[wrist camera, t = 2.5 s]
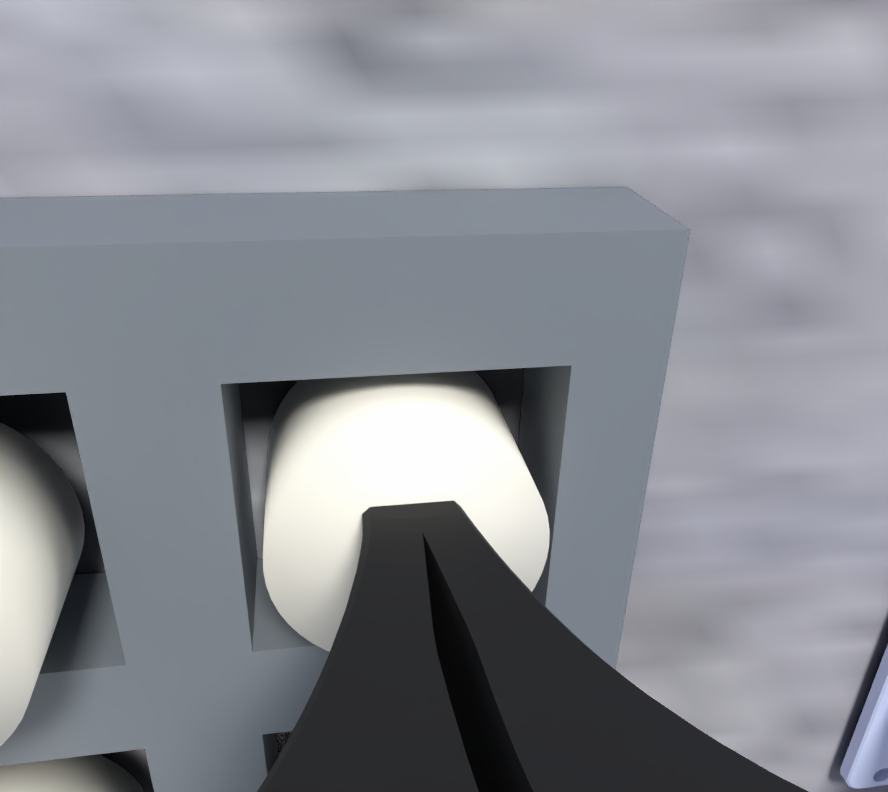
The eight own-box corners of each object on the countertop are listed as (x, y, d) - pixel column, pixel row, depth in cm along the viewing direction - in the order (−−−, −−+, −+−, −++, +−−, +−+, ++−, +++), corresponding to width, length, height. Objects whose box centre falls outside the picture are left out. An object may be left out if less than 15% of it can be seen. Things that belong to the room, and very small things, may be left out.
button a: (510, 335, 14) (561, 423, 11) (497, 534, 16) (538, 648, 13) (257, 347, 13) (250, 443, 11) (276, 553, 15) (274, 677, 12)
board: (627, 187, 13) (689, 229, 11) (546, 813, 21) (574, 908, 19) (-433, 205, 11) (-603, 262, 9) (-92, 903, 18) (-140, 1024, 16)
